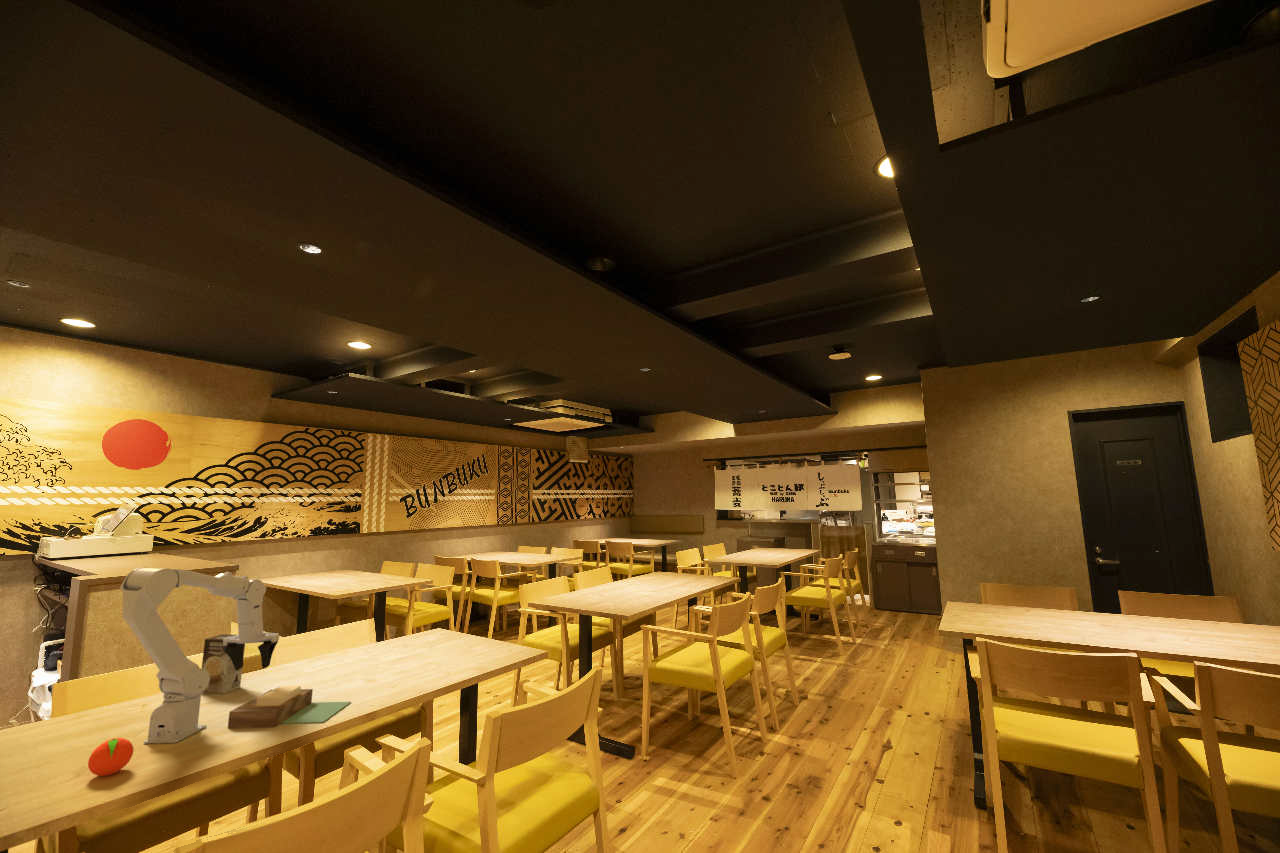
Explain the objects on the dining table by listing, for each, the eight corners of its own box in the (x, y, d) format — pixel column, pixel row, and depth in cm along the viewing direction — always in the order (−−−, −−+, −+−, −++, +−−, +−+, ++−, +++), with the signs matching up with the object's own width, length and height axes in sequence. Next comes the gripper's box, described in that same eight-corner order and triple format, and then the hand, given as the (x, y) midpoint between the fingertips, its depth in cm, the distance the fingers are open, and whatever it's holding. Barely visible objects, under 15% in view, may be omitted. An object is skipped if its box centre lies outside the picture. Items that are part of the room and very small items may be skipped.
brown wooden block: (274, 727, 134) (276, 710, 135) (227, 728, 134) (229, 711, 135) (311, 703, 150) (312, 688, 151) (269, 704, 150) (270, 689, 150)
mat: (323, 722, 137) (323, 721, 137) (280, 723, 136) (281, 722, 136) (350, 702, 151) (350, 701, 151) (312, 703, 150) (312, 702, 150)
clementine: (131, 775, 111) (135, 740, 112) (84, 788, 106) (89, 750, 107) (131, 762, 116) (135, 728, 117) (86, 774, 111) (91, 738, 113)
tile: (279, 705, 138) (279, 697, 139) (256, 706, 138) (257, 698, 139) (300, 693, 147) (300, 686, 148) (278, 693, 147) (279, 686, 147)
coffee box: (196, 693, 159) (203, 638, 162) (215, 686, 166) (221, 633, 168) (224, 694, 158) (229, 639, 161) (241, 686, 165) (247, 634, 167)
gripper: (285, 614, 153) (287, 659, 153) (235, 617, 153) (237, 663, 153) (268, 623, 146) (271, 670, 146) (216, 626, 146) (218, 674, 146)
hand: (252, 667), depth 149 cm, fingers open, 7 cm apart
